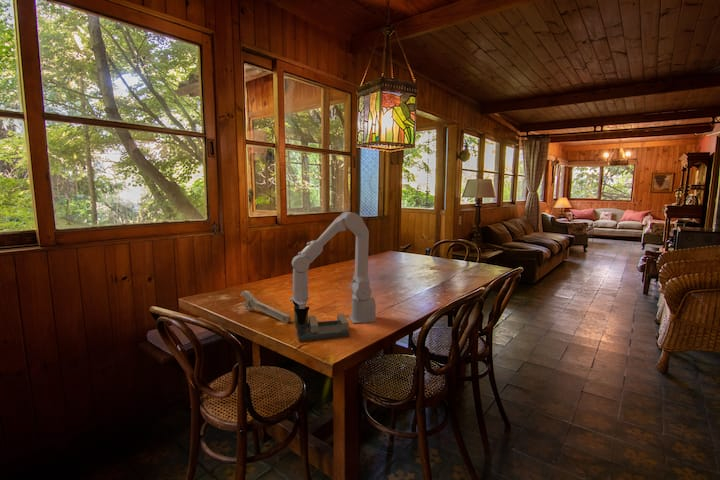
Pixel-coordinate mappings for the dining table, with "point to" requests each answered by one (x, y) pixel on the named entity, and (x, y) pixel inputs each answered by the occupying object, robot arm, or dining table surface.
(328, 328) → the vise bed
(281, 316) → the wrench
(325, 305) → the dining table surface
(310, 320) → the bar
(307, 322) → the brass block
